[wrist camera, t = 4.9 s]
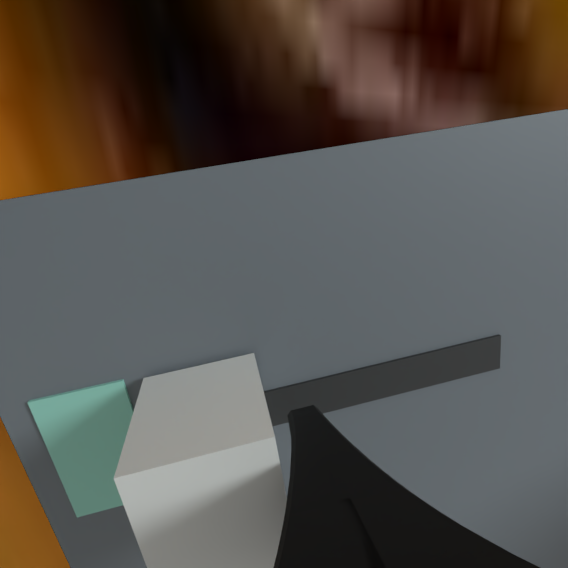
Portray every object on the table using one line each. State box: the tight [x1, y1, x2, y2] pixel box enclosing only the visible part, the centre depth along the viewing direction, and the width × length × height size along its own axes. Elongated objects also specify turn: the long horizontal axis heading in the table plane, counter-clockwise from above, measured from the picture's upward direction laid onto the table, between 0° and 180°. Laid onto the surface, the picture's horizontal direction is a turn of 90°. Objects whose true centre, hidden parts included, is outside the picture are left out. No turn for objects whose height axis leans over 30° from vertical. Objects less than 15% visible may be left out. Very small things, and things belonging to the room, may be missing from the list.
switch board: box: [0, 109, 568, 568], centre depth 14 cm, size 20×24×1 cm
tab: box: [114, 353, 287, 568], centre depth 9 cm, size 3×4×4 cm
